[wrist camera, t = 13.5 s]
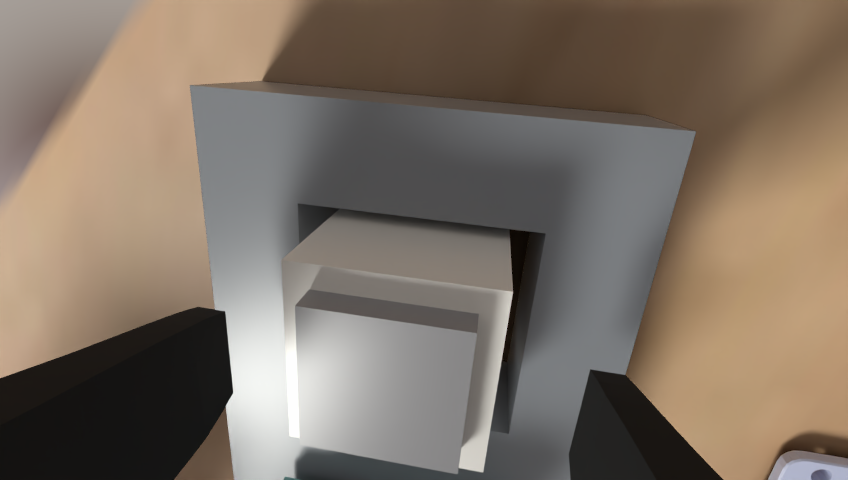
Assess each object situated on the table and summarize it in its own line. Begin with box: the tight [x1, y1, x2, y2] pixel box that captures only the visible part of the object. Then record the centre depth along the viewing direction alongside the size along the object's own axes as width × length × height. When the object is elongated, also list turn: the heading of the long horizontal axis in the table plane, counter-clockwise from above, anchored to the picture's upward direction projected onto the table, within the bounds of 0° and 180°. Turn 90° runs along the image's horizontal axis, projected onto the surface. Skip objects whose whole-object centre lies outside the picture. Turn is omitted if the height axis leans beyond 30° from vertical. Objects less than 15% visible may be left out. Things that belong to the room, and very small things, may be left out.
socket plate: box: [190, 81, 696, 480], centre depth 13 cm, size 10×16×3 cm, turn 176°
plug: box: [281, 209, 513, 474], centre depth 11 cm, size 4×4×6 cm
